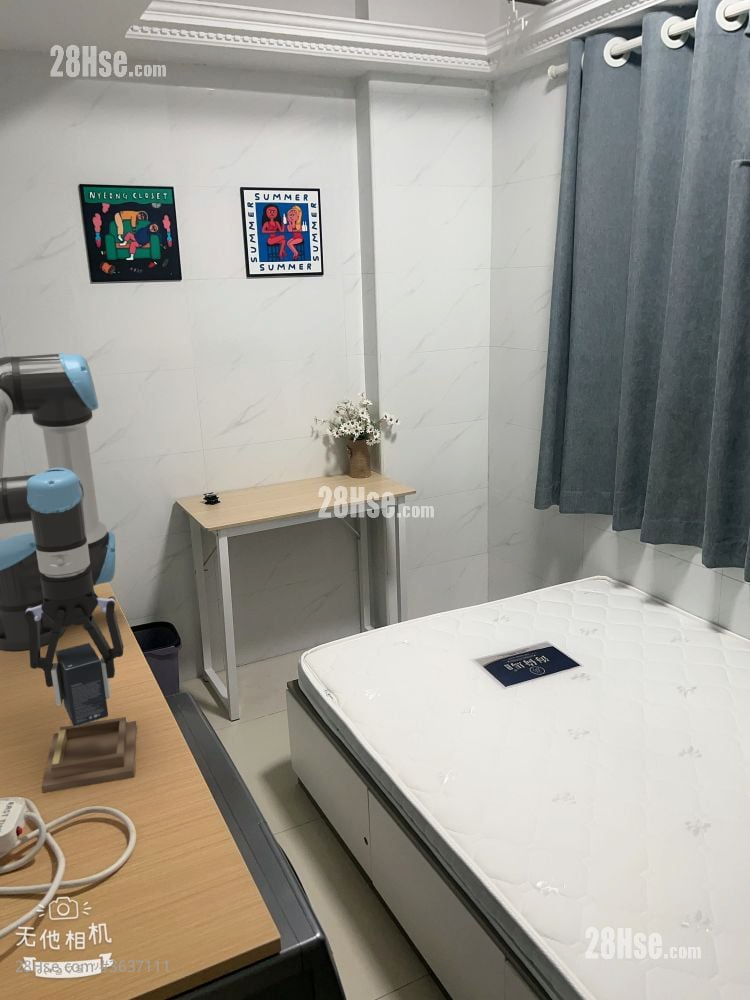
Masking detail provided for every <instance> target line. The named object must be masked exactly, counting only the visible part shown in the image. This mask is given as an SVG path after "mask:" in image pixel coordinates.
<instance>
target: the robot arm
mask: <svg viewBox="0 0 750 1000" xmlns="http://www.w3.org/2000/svg"><path fill="white" fill-rule="evenodd" d="M98 409H99V403H98V396H97V393H96V389H95V384H94V381H93V376H92V374H91V370H90V367H89V364H88V362H87V359H86V358H85V357H84V356H83V355H81V354H79V353H78V354H75V353H70V354H69V353H68V354H67V353H65V354H64V353H51V354H50V353H49V354H37V355H36V354H35V355H23V356H19V355H18V356H12V355H11V356H3V357H0V525H3V524H13V523H23V522H25V523H26V522H31V524H32V530H33V533H32V532H31V533H30V532H29V533H23V534H18V535H14V536H11V537H8V538H6V539H2V540H1V541H0V650H3V651H11V652H13V651H25V650H26V651H27V650H29V666H30V668H31V669H35V670H36V669H42V670H43V673H44V674H43V675H44V677H45V678H44V679H45V685H46V687H47V688H51V687H53V691H54V698H55V705H56V707H61V706H62V705H63V703H64V700H63V691H62V684H61V678H60V671H59V665H58V663H57V662H54V658H55V656H56V651H57V646H58V643H59V638H60V637H61V636H63V635H64V633H65V631H66V628H67V627H71V626H82V627H83V629H84V630H85V631H86V632H87V634H88V635H89V637H90V639H91V640H92V642H93V643H94V646H95V647H96V649H97V650H98V652H99V653H100V655H101V656H100V657H101V658H100V660H101V666H102V673H103V680H104V687H105V695H106V700H108V699H110V698H111V691H112V690H111V683H110V679H113V678H114V677H115V675H116V668H115V659H116V658H121V657H122V656H123V654H124V648H125V647H124V643H123V639H122V635H121V631H120V628H119V624H118V620H117V616H116V612H115V605H116V597H114V596H109V597H108V598H101V597H99V596H98V595H97V593H96V592H95V590H94V588H95V587H96V586H97V585H102V584H105V583H110V582H112V581H113V579H114V577H115V574H116V573H115V572H116V537H115V532H112V531H111V532H110V531H108V527H107V526H106V524H105V523H103V522H102V521H100V520H99V519H100V518H99V511H98V503H97V497H96V490H95V482H94V475H93V474H94V473H93V469H92V468H93V467H92V459H91V453H90V451H91V450H90V445H89V437H88V436H89V435H88V431H87V430H88V429H87V425H88V424H89V422H91V420H92V419H93V411H95V410H98ZM16 415H32V422H33V424H34V425H36V426H37V427H39V428H40V429H42V434H43V441H44V445H45V451H46V452H45V453H46V457H47V464H48V465H47V466H48V469H47V470H45V471H43V472H41V473H37V474H30V475H29V474H28V475H21V476H20V475H18V476H9V477H8V476H7V477H3V473H4V462H5V461H4V460H5V445H6V444H5V443H6V431H7V430H6V429H7V428H6V427H7V423H8V421H9V420H10V418H11V417H12V416H16ZM94 586H95V587H94ZM97 607H99V608H100V611H101V612H102V613H105V621H106V624H107V627H108V631H109V636H110V639H111V643H112V648H111V646H110V644H109V643H108V640H107V638H106V637H105V635H104V634H103V632H102V630H101V629H100V627H99V625H98V623H97V622H96V620H95V617H94V615H93V614H94V611H95V609H96V608H97ZM47 644H48V646H47V649H46V653H45V656H44V657H42V656H41V654H42V653H41V647H42V646H45V645H47Z"/></svg>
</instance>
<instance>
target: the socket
mask: <svg viewBox="0 0 750 1000" xmlns="http://www.w3.org/2000/svg"><path fill="white" fill-rule="evenodd" d="M59 727H60V728H59V731H58V732H56V733H53V737H52V741H51V745H50V748H49V752H48V757H47V760H46V766H45V770H44V774H43V779H42V782H41V792H42V794H43V793H49V792H54V791H61V790H67V789H71V788H77V787H83V786H89V785H95V784H100V783H105V782H111V781H117V780H122V779H128V778H134V777H135V763H136V760H135V759H136V747H137V746H136V744H137V730H138V729H137V727H138V725H137V720H132V721H127V718H126V716H124V717H115V718H109V719H104V720H96V721H93V722H90V723H86V724H83V725H79V726H76V727H74V726H73V724H72V725H65V726H59Z"/></svg>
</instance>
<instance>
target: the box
mask: <svg viewBox="0 0 750 1000" xmlns="http://www.w3.org/2000/svg"><path fill="white" fill-rule="evenodd" d="M55 657H56V661H57V662H56V663H58V665H59V671H60V678H61V684H62V691H63V705H64V708H65V710H66V713H67V714H68V717H69V719H70V721H71V723H72V725H73V726H74V727H76V726H79V725H83V724H86V723H90V722H96V721H100V720H102V719H106V718H107V717H108V716H109V710H108V704H107V703H108V702H107V699H106V695H105V687H104V680H103V673H102V666H101V658H99V656H98V654H97V653H96V651H95V649H94V647H93V646H92V645H91V643H90V642H88V643H83V644H80V645H79V644H78V645H75V646H72V647H67V648H63V649H59V650H56V651H55Z"/></svg>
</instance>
